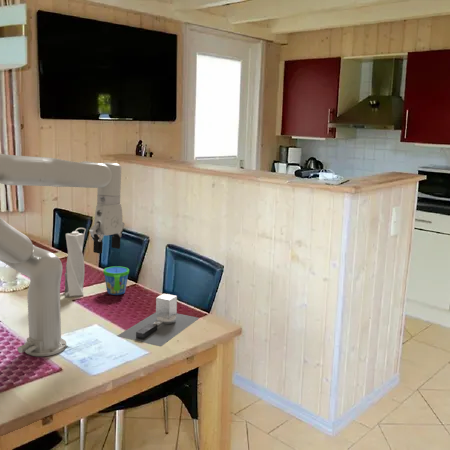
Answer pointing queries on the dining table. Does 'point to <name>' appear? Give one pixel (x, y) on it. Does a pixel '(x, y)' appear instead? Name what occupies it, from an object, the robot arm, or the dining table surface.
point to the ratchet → (154, 327)
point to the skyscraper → (74, 264)
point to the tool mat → (162, 333)
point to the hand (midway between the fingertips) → (107, 250)
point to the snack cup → (116, 279)
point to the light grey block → (166, 306)
